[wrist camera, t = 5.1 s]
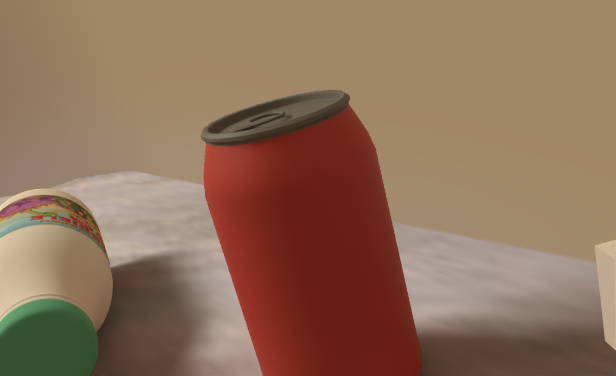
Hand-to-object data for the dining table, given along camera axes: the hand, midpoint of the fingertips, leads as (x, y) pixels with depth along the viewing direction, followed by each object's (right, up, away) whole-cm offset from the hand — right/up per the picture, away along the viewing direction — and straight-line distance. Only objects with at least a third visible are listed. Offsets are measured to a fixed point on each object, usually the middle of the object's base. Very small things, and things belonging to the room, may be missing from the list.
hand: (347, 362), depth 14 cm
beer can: (+1, -4, +11) cm, 11 cm away
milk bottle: (-21, +1, +29) cm, 36 cm away
